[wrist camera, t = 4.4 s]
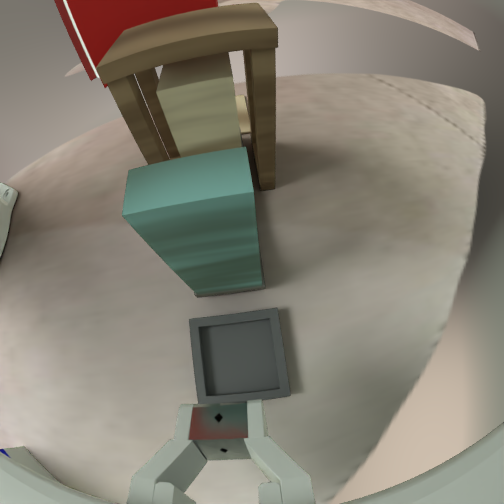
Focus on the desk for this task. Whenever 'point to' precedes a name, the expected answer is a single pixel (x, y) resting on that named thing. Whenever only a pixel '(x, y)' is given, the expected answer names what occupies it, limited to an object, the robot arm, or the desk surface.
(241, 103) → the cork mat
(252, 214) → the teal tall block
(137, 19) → the book
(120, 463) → the desk surface
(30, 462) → the puzzle toy
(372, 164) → the desk surface
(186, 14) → the tunnel
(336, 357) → the desk surface
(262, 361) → the tray
